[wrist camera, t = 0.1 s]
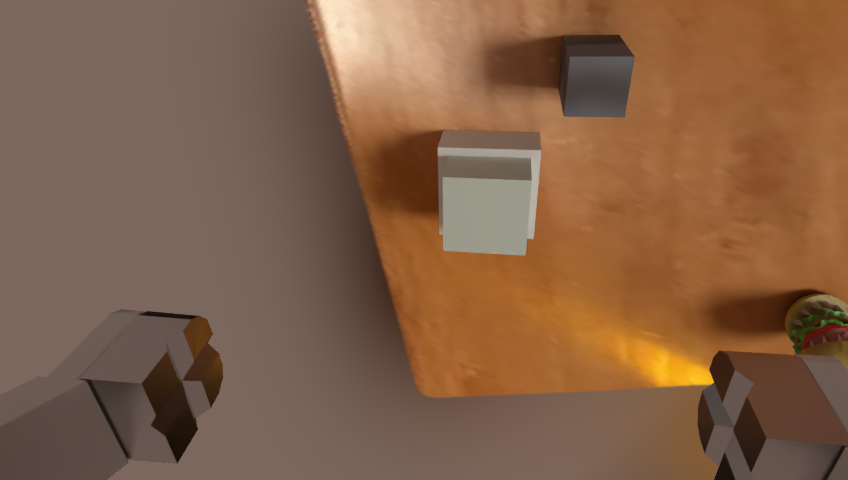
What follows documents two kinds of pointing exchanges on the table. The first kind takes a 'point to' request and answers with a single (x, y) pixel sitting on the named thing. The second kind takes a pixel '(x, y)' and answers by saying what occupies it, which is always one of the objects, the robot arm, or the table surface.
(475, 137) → the tower base
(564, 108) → the charcoal block
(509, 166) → the tower top
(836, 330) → the hamburger
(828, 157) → the table surface
